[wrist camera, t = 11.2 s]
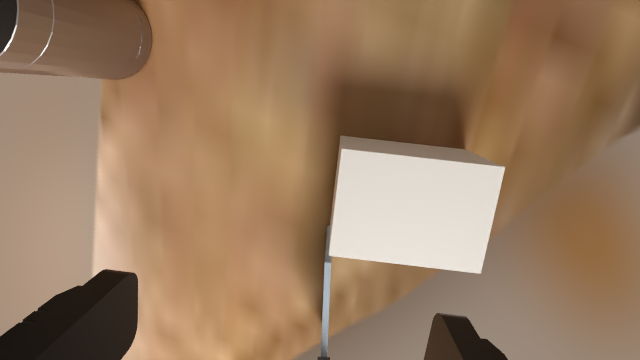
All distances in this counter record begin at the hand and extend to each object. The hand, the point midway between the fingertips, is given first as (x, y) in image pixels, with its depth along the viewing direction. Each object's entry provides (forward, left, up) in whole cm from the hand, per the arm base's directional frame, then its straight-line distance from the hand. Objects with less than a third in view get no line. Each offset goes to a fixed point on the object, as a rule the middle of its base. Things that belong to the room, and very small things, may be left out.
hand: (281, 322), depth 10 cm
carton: (+9, -4, -33) cm, 34 cm away
